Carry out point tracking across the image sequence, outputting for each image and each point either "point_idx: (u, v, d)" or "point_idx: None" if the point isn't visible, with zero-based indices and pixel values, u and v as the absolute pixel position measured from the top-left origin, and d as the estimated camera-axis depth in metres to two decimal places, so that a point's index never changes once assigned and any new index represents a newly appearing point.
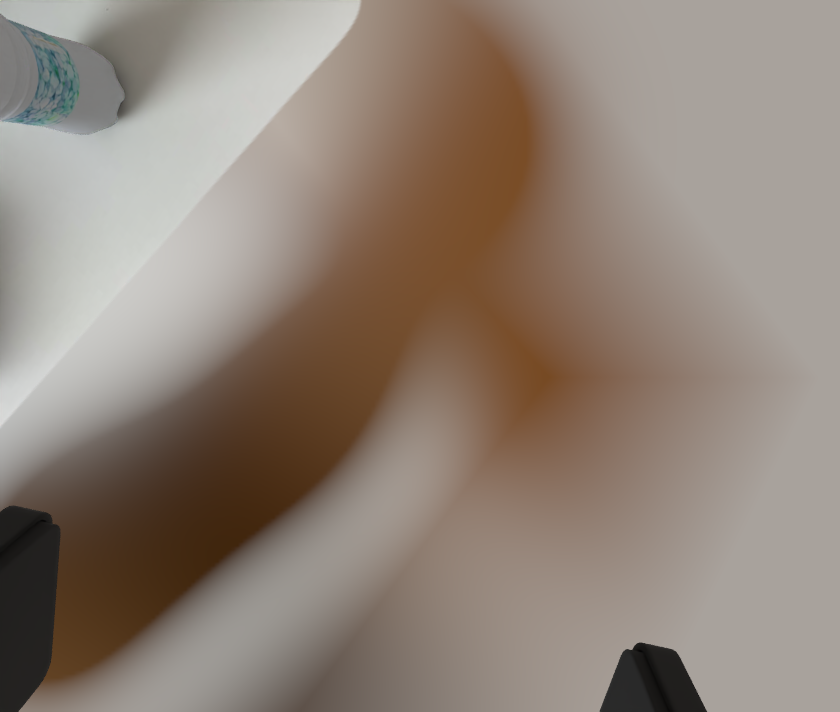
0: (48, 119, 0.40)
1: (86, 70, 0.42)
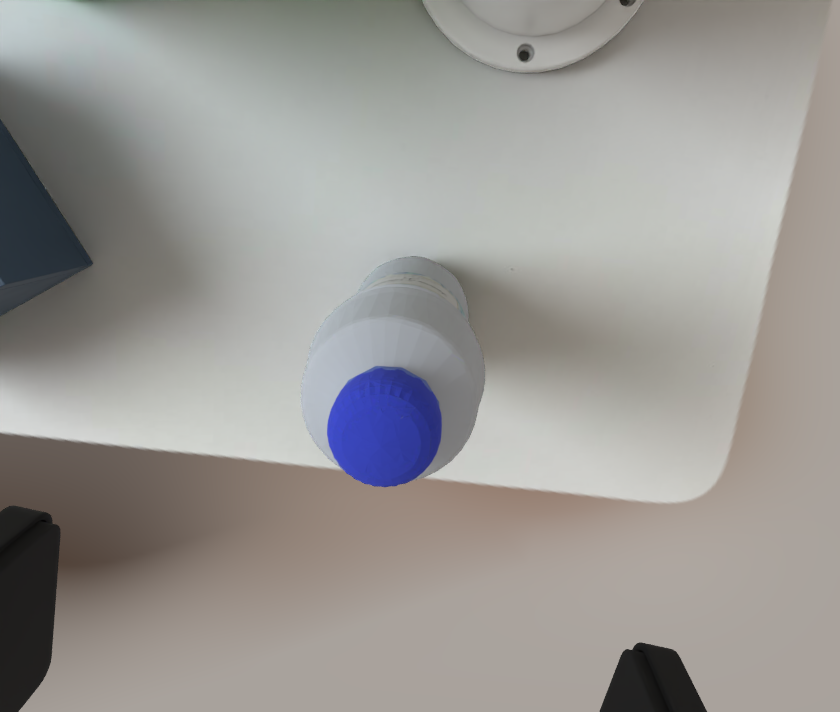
0: None
1: None
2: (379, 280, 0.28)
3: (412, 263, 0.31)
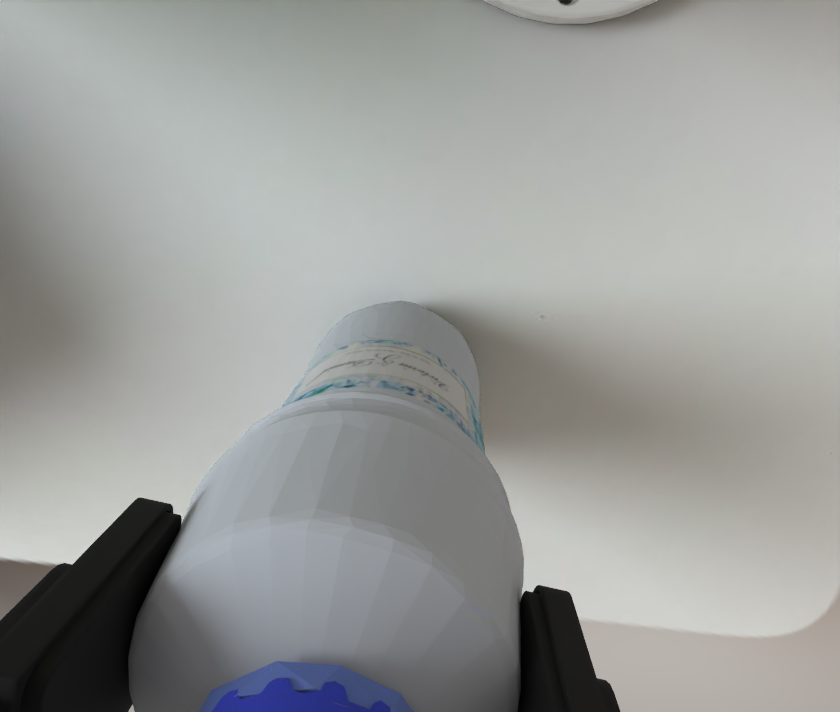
0: None
1: None
2: (335, 357, 0.17)
3: (393, 318, 0.20)
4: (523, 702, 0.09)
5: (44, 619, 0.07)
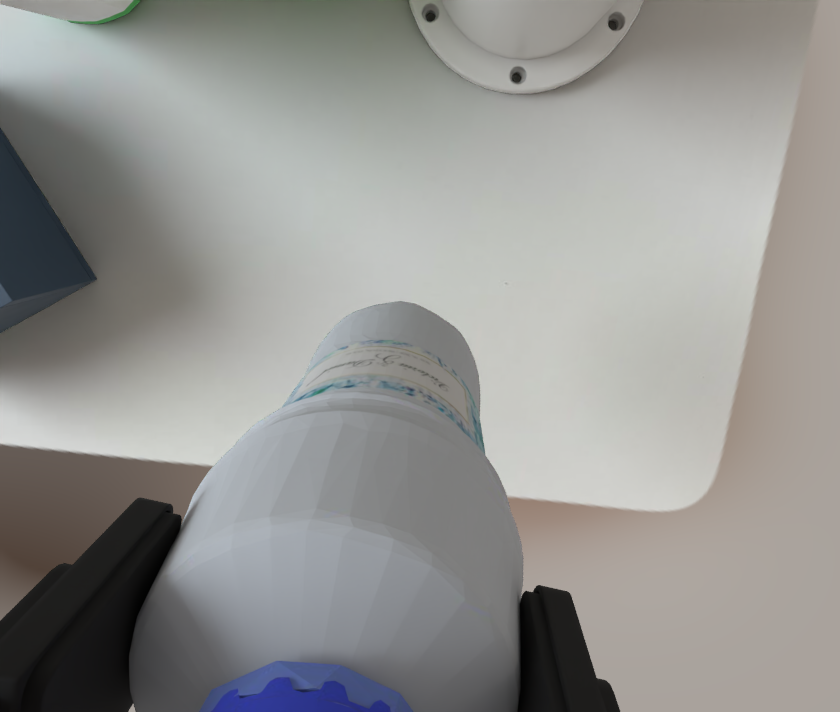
0: None
1: None
2: (335, 357, 0.17)
3: (393, 318, 0.20)
4: (523, 702, 0.09)
5: (44, 619, 0.07)
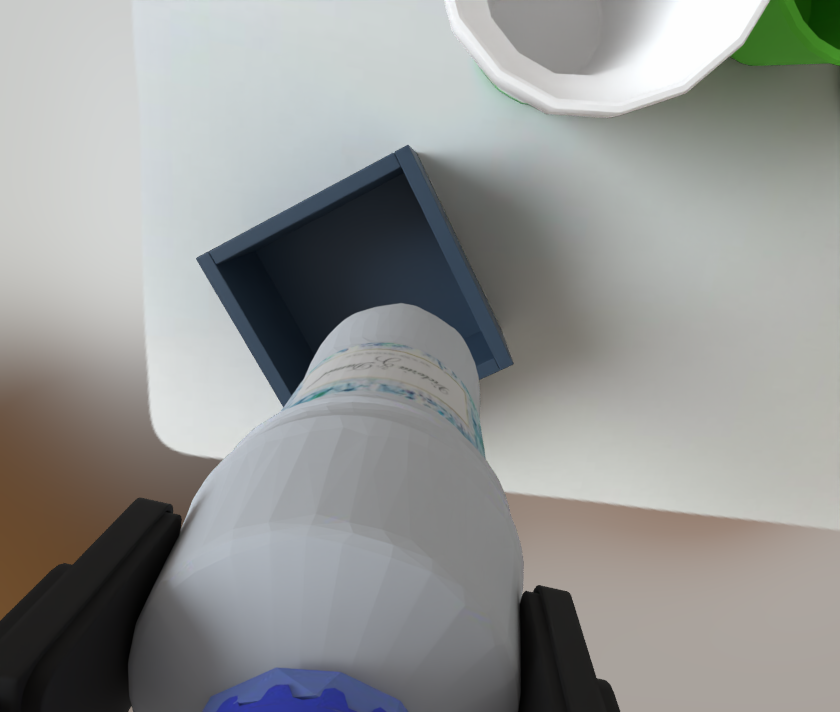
0: None
1: None
2: (335, 359, 0.17)
3: (393, 320, 0.20)
4: (523, 702, 0.09)
5: (44, 619, 0.07)
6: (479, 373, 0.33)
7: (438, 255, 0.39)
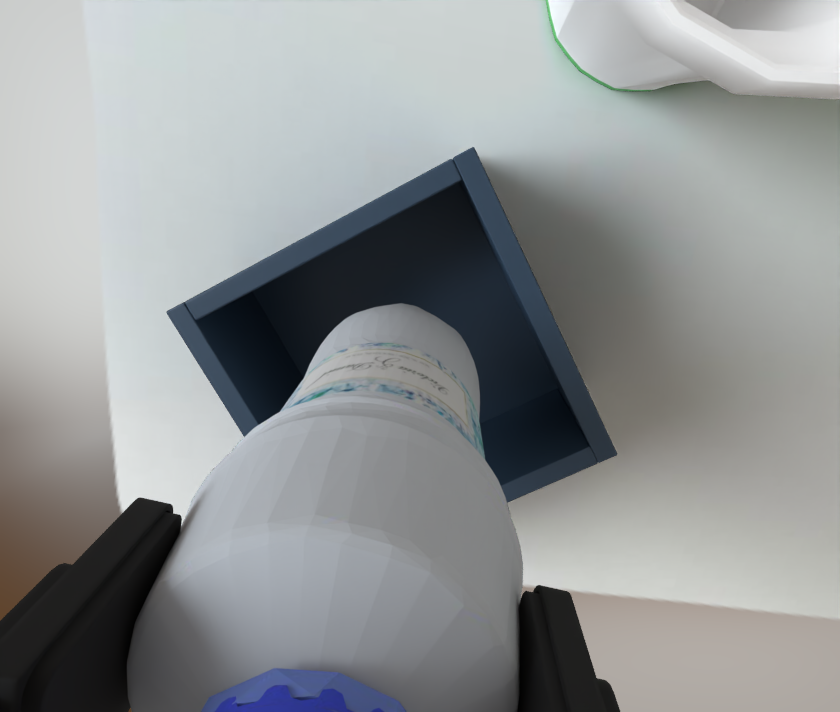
0: None
1: None
2: (335, 360, 0.17)
3: (393, 320, 0.20)
4: (523, 702, 0.09)
5: (44, 619, 0.07)
6: (568, 467, 0.24)
7: (495, 293, 0.29)
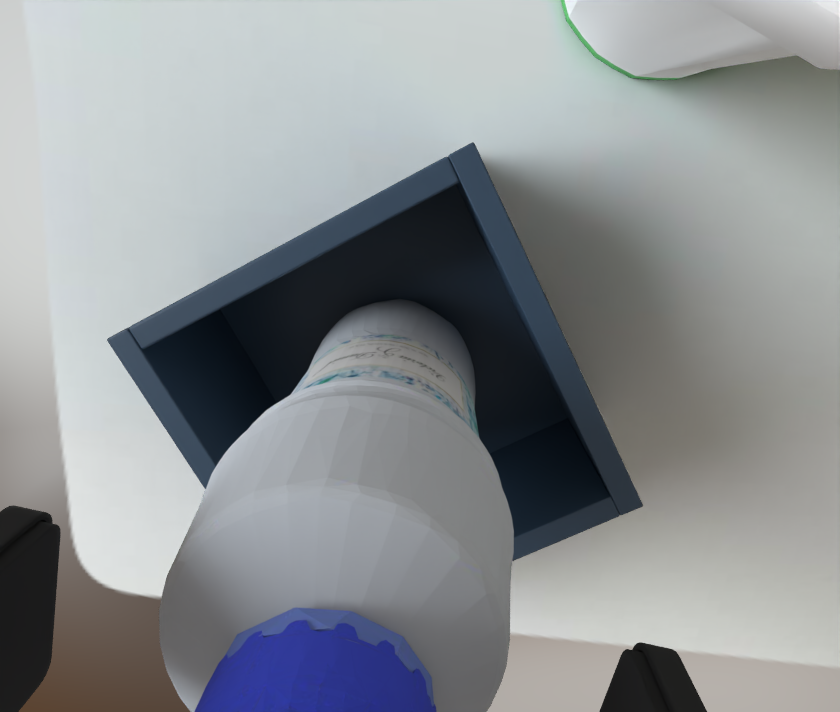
0: None
1: None
2: (339, 350, 0.18)
3: (393, 314, 0.21)
4: None
5: None
6: (585, 521, 0.20)
7: (498, 311, 0.25)
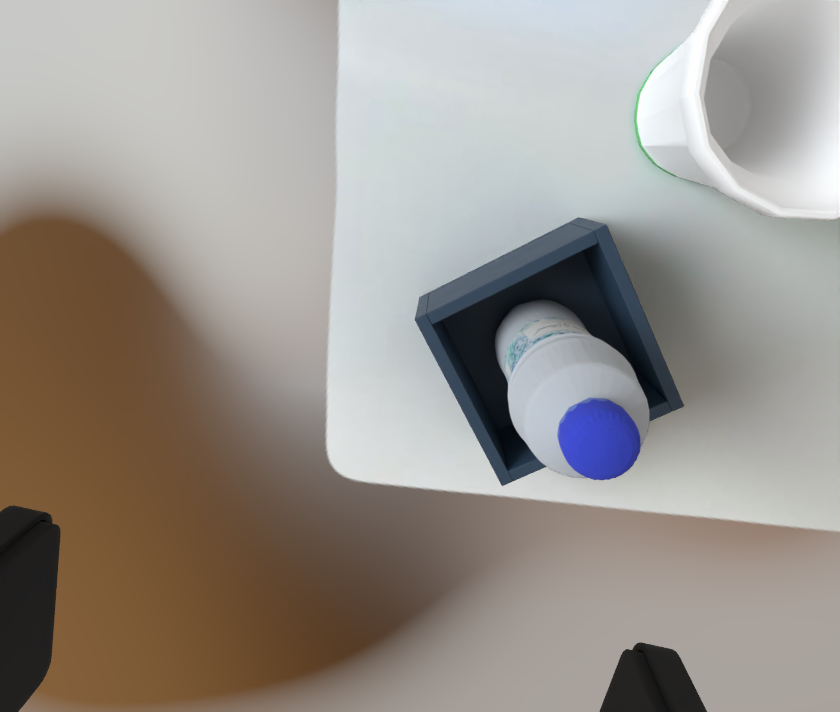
0: None
1: None
2: (537, 324, 0.37)
3: (550, 307, 0.40)
4: None
5: None
6: (654, 414, 0.39)
7: (595, 306, 0.44)
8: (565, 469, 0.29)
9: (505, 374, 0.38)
